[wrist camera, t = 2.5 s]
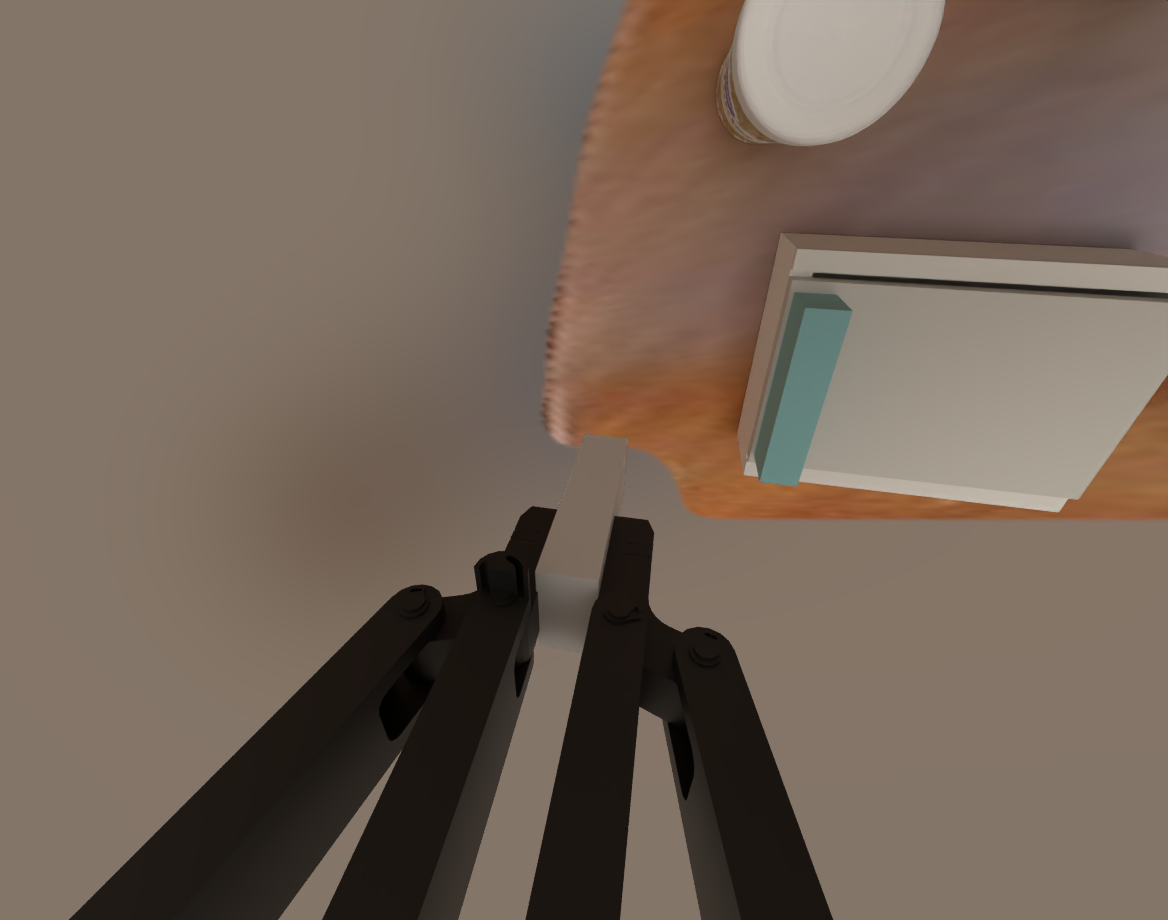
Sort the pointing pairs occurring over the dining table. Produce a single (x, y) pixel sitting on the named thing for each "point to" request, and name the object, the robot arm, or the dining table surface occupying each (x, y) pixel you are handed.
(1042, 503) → the mailer box
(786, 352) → the lid
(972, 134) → the dining table surface
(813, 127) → the sprinkles bottle
